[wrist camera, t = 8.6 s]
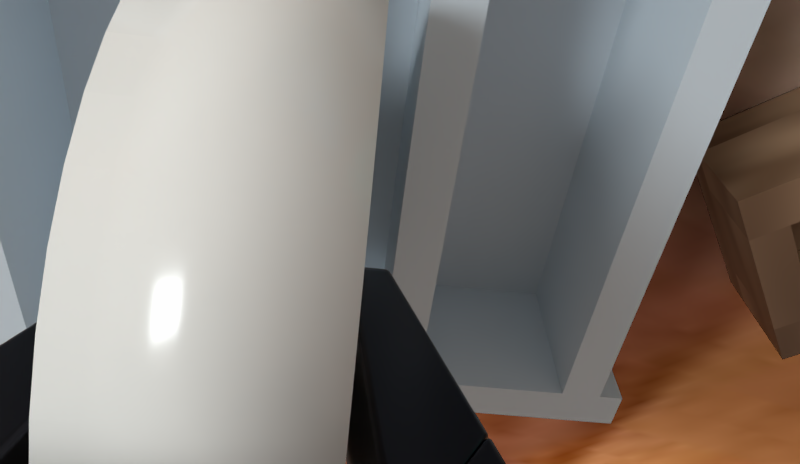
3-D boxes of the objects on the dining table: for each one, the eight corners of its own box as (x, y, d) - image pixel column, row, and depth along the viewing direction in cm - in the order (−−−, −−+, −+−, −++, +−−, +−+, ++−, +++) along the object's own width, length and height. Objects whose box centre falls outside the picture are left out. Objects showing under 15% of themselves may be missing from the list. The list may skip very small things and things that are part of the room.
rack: (569, 298, 22) (610, 423, 17) (65, 251, 21) (-25, 371, 16) (762, -259, 13) (937, -284, 9) (-79, -384, 12) (-344, -481, 8)
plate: (378, 67, 15) (416, -276, 5) (336, 494, 15) (291, 1019, 5) (275, 56, 15) (105, -323, 5) (232, 487, 15) (-37, 1014, 5)
